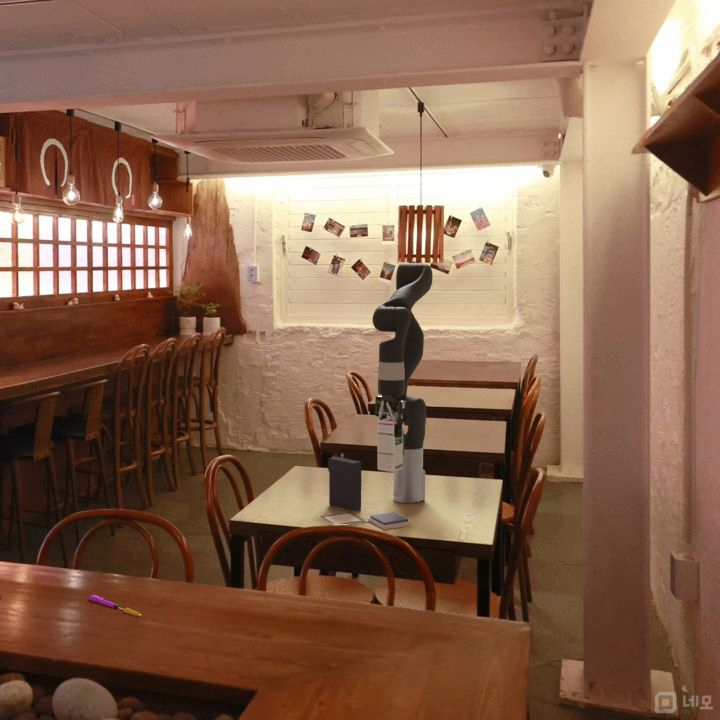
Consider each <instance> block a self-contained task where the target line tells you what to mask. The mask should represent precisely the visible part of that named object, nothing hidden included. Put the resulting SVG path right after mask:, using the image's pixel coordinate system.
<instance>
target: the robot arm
mask: <svg viewBox="0 0 720 720" xmlns="http://www.w3.org/2000/svg"><path fill="white" fill-rule="evenodd" d="M433 276H434V275H433V269H432V267H431V266H430V265H429V264H426V263H419V262H418V263H417V262H416V263H415V262H413V263H410V262H406V263H405V262H404V263H400V264H399V265H398V266H397V268H396V274H395V289H396V291H394V292H393V293H392V295H391V296H390V298H389V300H387V301H385V302H383V303H382V304H380V305H379V306H378V307H377V308H376V309H375V311H374V312H373V315H372V326H374V328H375V330H376V331H378V332H382V333H383V332H384V333H394V338H392V339H387V340H382V341H381V342H380V343H379V345H378V367H377V393H378V395H375V407H374V408H375V409H374V411H375V414H374V415H375V417H377V418H378V420H382V419H386V418H393V420H394V423H395V424H394V437H401V436H402V424H403V423H404V426H407V432H406V433H404V468H403V469H400V470H398V471H395V472H393V493H392V495H393V501H394V502H397V503H401V504H416V503H415V502H417V503H419V502H418V501H421V500H422V499H425V500H426V471H425V469H423V467H424V441H425V437H426V424H427V407H426V406H427V405H426V402H425V401H424V399H423V398H422V397H416V396H408V395H407V393H408V386H409V381H410V379H411V377H412V376H413V374H414V372H415V370H416V369H417V368H418V366H419V364H420V363H421V362H422V361H421V360H422V358H423V356H424V346H425V345H424V341H425V335H424V332H423V330H422V327H421V325H420V323H419V322H418V320H417V318H416V316H415V315H414V313H413V311H412V309H413V307H414V306H415V304H416V303H417V302H418V301H419V300H421V298H423V297H424V296H425V295H426V294H427V293H429V291H430V290H431V287H432V285H433ZM397 418H398V419H397ZM422 501H423V500H422ZM422 501H421V502H422Z"/></svg>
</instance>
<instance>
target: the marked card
mask: <svg viewBox="0 0 720 720" xmlns="http://www.w3.org/2000/svg"><path fill="white" fill-rule="evenodd" d="M318 519H320V520H322V521H324V522H325V523H327V524H329V525H330V524H351V525H356V524H355V523H357V524H362V523H367V522H368V520H365V519H364V518H362V517H361V516H358V515H357V514H354V512H352V511H345V512H339V513H333V514H332V513H331V514H326V515H324V514H323V515H320V516H318Z"/></svg>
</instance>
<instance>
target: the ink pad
mask: <svg viewBox="0 0 720 720" xmlns="http://www.w3.org/2000/svg"><path fill="white" fill-rule="evenodd" d="M367 522H369V523H371V524H372V525H374V524H375V526H377V527H378V528H380V529H382V530H387V529H388V530H389V529H395V528H401V527H407V526H411V525H412V524H411V523H412V522H411V521H410V520H409V518H407V517H405V516H403V515H401V514H399V513H397V512H395V511H392V512H386V513H385V512H384V513H378V514H377V513H376V514H373V515H371V514H370V517H369V516H368V517H367Z"/></svg>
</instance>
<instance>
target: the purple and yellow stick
mask: <svg viewBox="0 0 720 720" xmlns="http://www.w3.org/2000/svg"><path fill="white" fill-rule="evenodd" d="M101 597H102V596H101ZM101 597H99V596H98V595H96V594H93V595H89V597H88V600H89V601H92V602H95V603H97V604H100V605H103V606H107V607H110V608H113V609H119V610H121V611H123V612H124V613H125V614H129V615H132V616H135V617H136V616H137V617H142V614H140V611H136V610H133V609H131V608H129V607H125V608H122V607H120V606H119V605H118V604H116V603H114V602H111V601H108V600H106V599H103V598H104V597H103V598H101Z"/></svg>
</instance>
